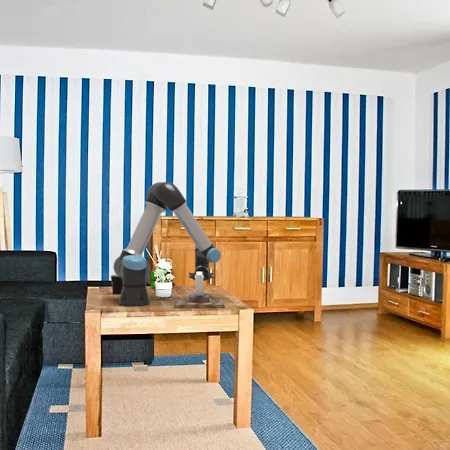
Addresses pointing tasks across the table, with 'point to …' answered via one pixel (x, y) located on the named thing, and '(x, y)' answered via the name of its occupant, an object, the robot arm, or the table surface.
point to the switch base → (214, 304)
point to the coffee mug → (116, 284)
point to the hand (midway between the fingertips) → (200, 279)
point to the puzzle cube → (155, 279)
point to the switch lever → (198, 284)
